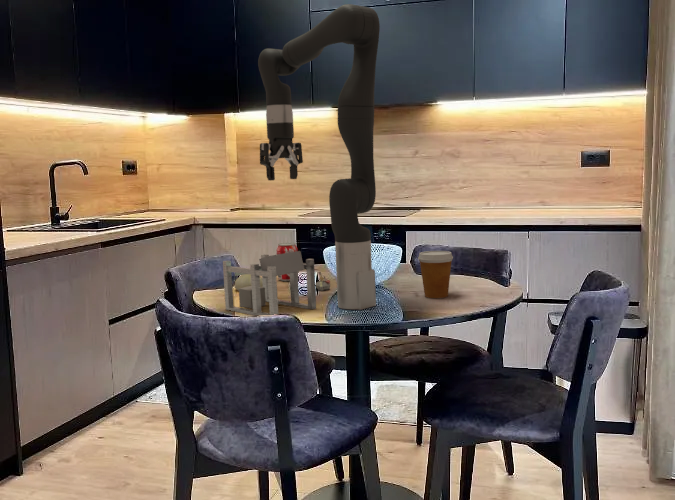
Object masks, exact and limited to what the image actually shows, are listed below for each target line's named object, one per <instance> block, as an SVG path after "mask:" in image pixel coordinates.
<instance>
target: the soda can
mask: <svg viewBox="0 0 675 500" xmlns="http://www.w3.org/2000/svg"><path fill="white" fill-rule="evenodd" d="M296 251H299V249H298V246H297V243H296V242H282V243H277V247H276V255H278V254H284V253H290V252H296ZM298 273H299V274H300V271H298ZM277 279H279V281H281V282H290V273H289V274H284V275H279V276H277Z"/></svg>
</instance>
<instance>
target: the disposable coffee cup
mask: <svg viewBox="0 0 675 500" xmlns="http://www.w3.org/2000/svg"><path fill="white" fill-rule="evenodd" d="M453 258H454V256H453V254H452V252H451V251H449V250H428V251H421V252H419V254H418V257H417V259H418V262H419V266H420V271H421V279H422V280H421V281H422V284H423V292H424V297H425V298H427V299H443V298H448V296H449V288H450V278H451V272H452V271H451V269H452V262H453Z"/></svg>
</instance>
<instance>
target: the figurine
mask: <svg viewBox="0 0 675 500" xmlns="http://www.w3.org/2000/svg"><path fill="white" fill-rule="evenodd" d="M318 275H319V281H317V282H315V289H317V290H318V291H321V292H323V291H329V290H330V289H331V280H330V279H329V277H327V276H325V275H323V273H322V272H321V271H319V272H318Z"/></svg>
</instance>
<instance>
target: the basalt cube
mask: <svg viewBox="0 0 675 500" xmlns="http://www.w3.org/2000/svg"><path fill="white" fill-rule="evenodd" d="M260 294H261V307H265V306H266V305H267V302H266V298H265V287H260ZM238 299H239V308H244V309H250V310H253V301H252V286H249V287H244V288H239V291H238Z"/></svg>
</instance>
